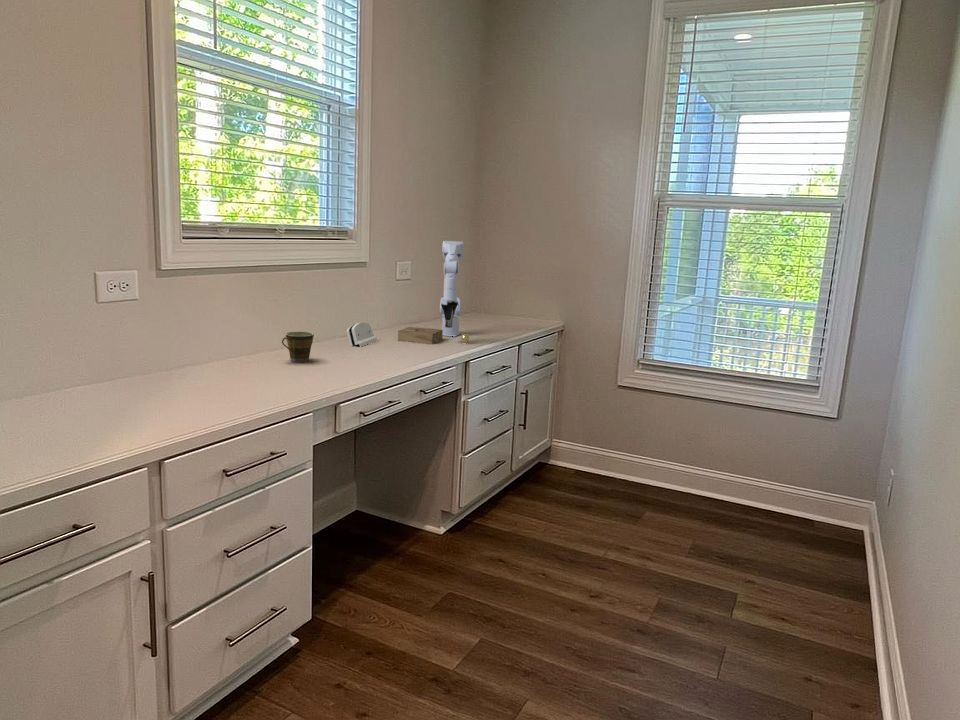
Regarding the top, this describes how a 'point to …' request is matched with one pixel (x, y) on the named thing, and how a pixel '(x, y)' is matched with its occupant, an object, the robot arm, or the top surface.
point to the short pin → (465, 338)
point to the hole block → (420, 335)
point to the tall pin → (449, 322)
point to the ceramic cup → (299, 345)
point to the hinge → (360, 334)
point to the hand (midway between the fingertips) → (449, 319)
